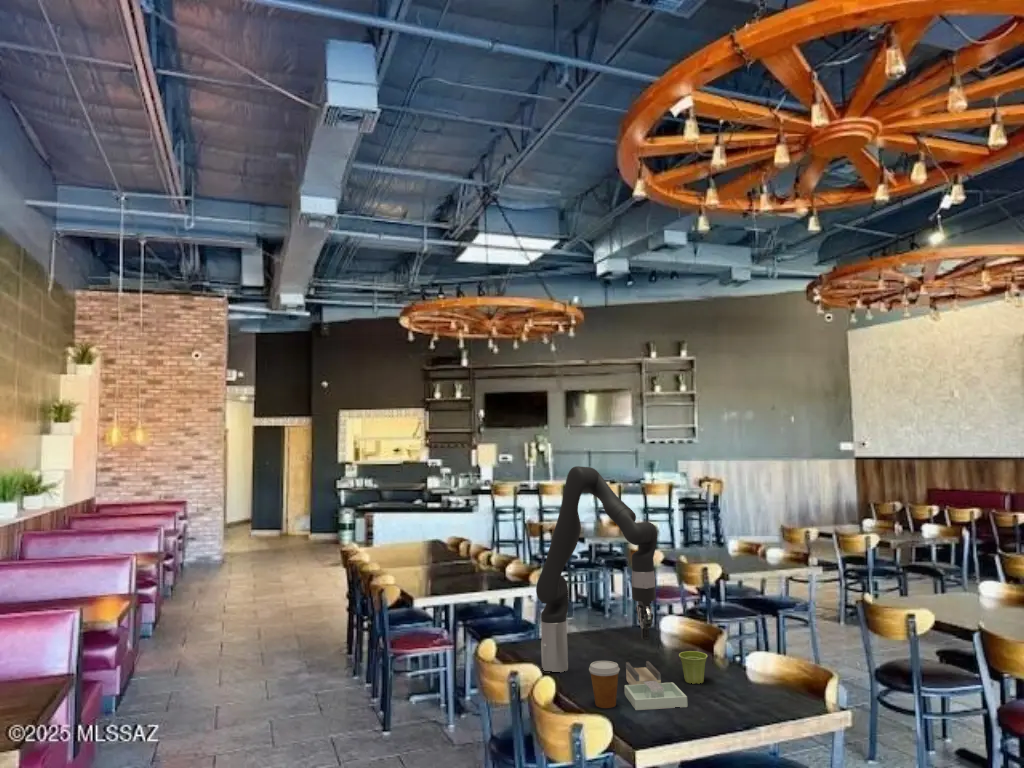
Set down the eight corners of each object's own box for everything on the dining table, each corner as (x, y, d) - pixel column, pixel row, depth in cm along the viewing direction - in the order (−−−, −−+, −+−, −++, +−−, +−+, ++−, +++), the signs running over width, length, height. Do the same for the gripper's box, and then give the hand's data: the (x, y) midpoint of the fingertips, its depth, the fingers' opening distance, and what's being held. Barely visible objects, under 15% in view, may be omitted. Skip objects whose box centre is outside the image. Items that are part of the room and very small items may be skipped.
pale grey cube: (648, 698, 225) (651, 703, 221) (647, 685, 225) (651, 689, 221) (660, 697, 225) (664, 702, 221) (659, 684, 226) (663, 688, 222)
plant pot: (713, 680, 242) (712, 654, 243) (700, 688, 235) (698, 660, 236) (689, 675, 249) (687, 649, 249) (674, 682, 242) (673, 655, 243)
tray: (635, 710, 217) (635, 699, 217) (624, 694, 231) (624, 685, 231) (687, 707, 218) (687, 696, 219) (673, 691, 232) (673, 682, 233)
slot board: (637, 694, 231) (636, 674, 232) (626, 680, 245) (625, 662, 246) (661, 692, 232) (660, 673, 233) (649, 679, 246) (648, 661, 246)
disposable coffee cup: (613, 712, 216) (611, 670, 217) (585, 707, 221) (583, 666, 222) (626, 702, 224) (624, 662, 225) (598, 697, 229) (596, 658, 230)
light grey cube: (647, 698, 225) (647, 685, 225) (644, 694, 229) (643, 681, 229) (660, 697, 225) (659, 684, 226) (656, 693, 229) (655, 680, 230)
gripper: (627, 581, 240) (629, 634, 239) (637, 589, 227) (639, 645, 226) (649, 580, 241) (651, 633, 239) (660, 588, 228) (662, 644, 226)
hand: (645, 639), depth 232 cm, fingers closed
